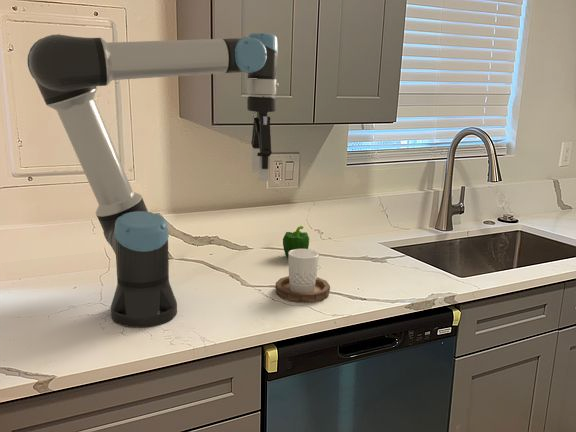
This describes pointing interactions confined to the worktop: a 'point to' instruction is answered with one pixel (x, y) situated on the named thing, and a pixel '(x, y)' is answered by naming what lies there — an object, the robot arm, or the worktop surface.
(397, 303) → the worktop surface
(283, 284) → the ring tray
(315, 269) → the white cup
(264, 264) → the worktop surface
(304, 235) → the bell pepper
